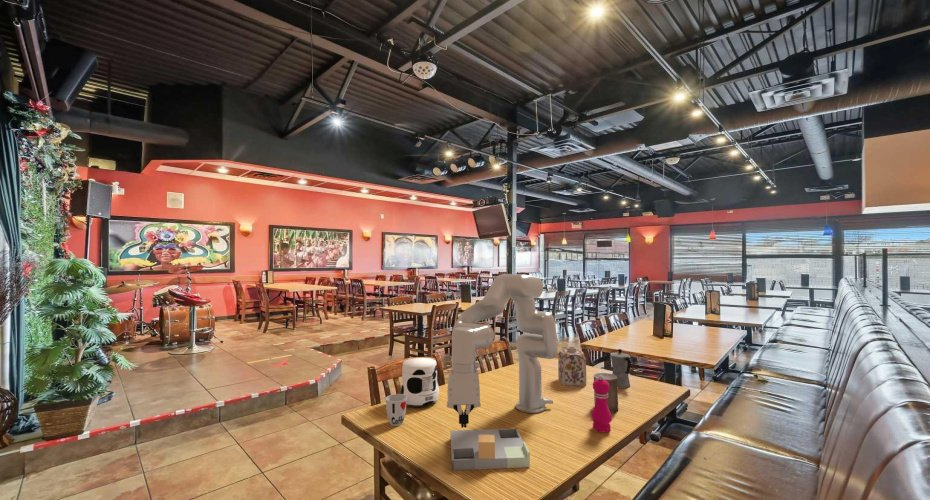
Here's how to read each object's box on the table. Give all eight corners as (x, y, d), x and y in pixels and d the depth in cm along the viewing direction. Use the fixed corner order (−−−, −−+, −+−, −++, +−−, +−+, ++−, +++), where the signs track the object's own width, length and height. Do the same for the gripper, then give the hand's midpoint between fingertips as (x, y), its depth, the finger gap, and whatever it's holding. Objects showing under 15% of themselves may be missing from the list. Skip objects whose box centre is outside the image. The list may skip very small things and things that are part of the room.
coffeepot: (605, 381, 199) (604, 346, 199) (621, 380, 200) (621, 345, 201) (621, 391, 184) (621, 353, 184) (639, 390, 185) (639, 352, 185)
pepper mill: (609, 434, 139) (608, 379, 140) (589, 430, 143) (588, 376, 143) (613, 427, 145) (612, 374, 146) (594, 423, 149) (593, 371, 150)
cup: (389, 429, 145) (389, 402, 145) (383, 421, 152) (383, 396, 152) (409, 425, 149) (409, 399, 149) (403, 417, 156) (402, 392, 156)
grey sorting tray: (517, 436, 138) (516, 424, 138) (529, 467, 118) (529, 452, 118) (450, 439, 137) (450, 426, 137) (452, 470, 117) (452, 455, 117)
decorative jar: (586, 386, 191) (586, 350, 192) (563, 386, 192) (563, 350, 192) (580, 378, 203) (579, 344, 204) (558, 378, 204) (557, 344, 204)
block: (494, 450, 123) (494, 434, 123) (494, 458, 118) (494, 442, 118) (478, 450, 123) (478, 434, 123) (478, 458, 118) (478, 442, 118)
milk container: (410, 393, 183) (410, 356, 183) (444, 397, 178) (444, 358, 178) (393, 407, 166) (393, 366, 166) (430, 412, 161) (430, 369, 161)
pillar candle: (621, 407, 164) (620, 372, 164) (612, 414, 157) (611, 377, 157) (599, 402, 171) (599, 368, 171) (590, 408, 163) (589, 373, 164)
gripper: (485, 363, 125) (485, 420, 125) (440, 364, 124) (439, 421, 124) (488, 370, 118) (488, 430, 117) (440, 370, 117) (439, 431, 116)
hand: (463, 425), depth 120 cm, fingers closed
